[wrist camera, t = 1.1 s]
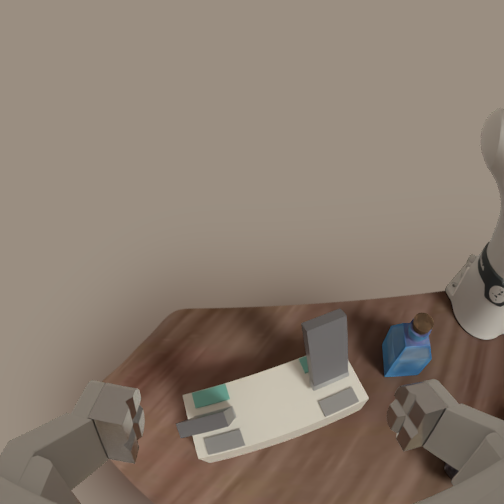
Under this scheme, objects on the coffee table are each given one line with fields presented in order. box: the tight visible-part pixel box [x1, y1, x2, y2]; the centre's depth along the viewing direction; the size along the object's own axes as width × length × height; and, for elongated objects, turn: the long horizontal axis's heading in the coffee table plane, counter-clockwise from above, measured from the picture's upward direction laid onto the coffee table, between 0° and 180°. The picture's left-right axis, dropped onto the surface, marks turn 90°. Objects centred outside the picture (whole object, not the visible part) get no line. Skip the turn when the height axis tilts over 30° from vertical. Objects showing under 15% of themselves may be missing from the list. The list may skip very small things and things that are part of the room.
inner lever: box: [301, 309, 349, 391], centre depth 35 cm, size 5×2×11 cm, turn 108°
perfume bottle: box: [382, 313, 434, 377], centre depth 39 cm, size 6×6×12 cm
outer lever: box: [176, 406, 236, 438], centre depth 30 cm, size 5×2×11 cm, turn 108°
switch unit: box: [182, 356, 369, 463], centre depth 39 cm, size 24×10×6 cm, turn 108°
